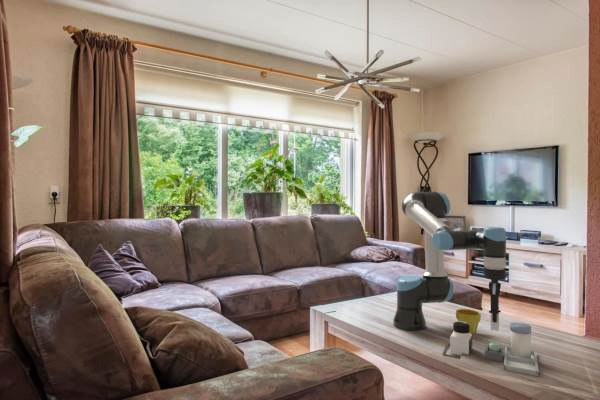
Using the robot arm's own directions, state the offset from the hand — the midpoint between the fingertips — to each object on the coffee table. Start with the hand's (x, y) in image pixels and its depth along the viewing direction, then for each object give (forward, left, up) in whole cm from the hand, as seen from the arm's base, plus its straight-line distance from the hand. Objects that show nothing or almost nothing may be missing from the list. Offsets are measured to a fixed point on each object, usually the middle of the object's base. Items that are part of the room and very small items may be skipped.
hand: (494, 329), depth 149 cm
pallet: (+6, 0, -12) cm, 13 cm away
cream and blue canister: (+9, +5, -11) cm, 14 cm away
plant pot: (-12, +27, -12) cm, 32 cm away
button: (0, 0, -9) cm, 9 cm away
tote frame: (-12, +2, -12) cm, 17 cm away
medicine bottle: (-12, +2, -12) cm, 17 cm away
